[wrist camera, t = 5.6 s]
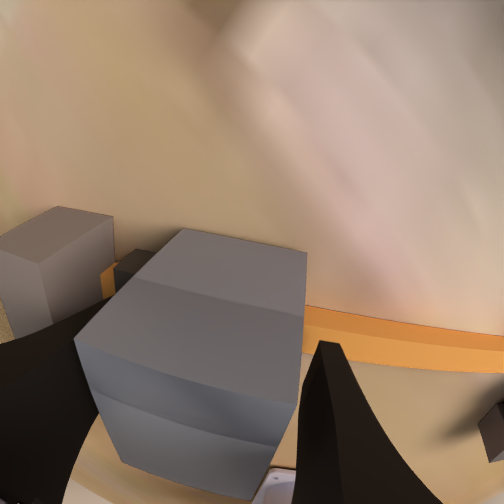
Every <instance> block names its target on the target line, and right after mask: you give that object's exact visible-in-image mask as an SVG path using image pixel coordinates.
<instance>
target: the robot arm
mask: <svg viewBox="0 0 504 504" xmlns="http://www.w3.org/2000/svg"><path fill="white" fill-rule="evenodd" d="M113 296H114V295H112V296H110V297H108V298H106V299H104V300H102V301H100V302H98V303H96V304H94V305H92V306H90V307H88V308H86V309H84V310H82V311H80V312H78V313H76V314H74V315H72V316H70V317H68V318H66V319H64V320H61V321H59V322H57V323H55V324H52V325H50V326H48V327H46V328H43V329H41V330H39V331H37V332H34V333H32V334H29V335H26V336H24V337H21V338H18V339H15V340H12V341H9V342H6V343H2V344H0V504H18V503H19V504H62V501H63V497H64V493H65V490H66V486H67V483H68V481H69V478H70V475H71V472H72V469H73V466H74V464H75V461H76V459H77V457H78V454H79V452H80V449H81V447H82V445H83V443H84V440H85V438H86V436H87V434H88V432H89V430H90V428H91V426H92V424H93V422H94V421H95V419H96V417H97V416H98V414H99V411H98V408H97V406H96V403H95V401H94V398H93V396H92V393H91V390H90V388H89V385H88V382H87V379H86V376H85V373H84V370H83V367H82V364H81V361H80V358H79V355H78V352H77V348H76V345H75V342H74V338H75V336H76V335H77V334H78V333H79V332H80V331H81V330H82V329H83V328H84V327H85V326H86V325H87V323H88V322H89V321H90V320H91V319H92V318H93V317H94V316H95V315H96V314H97V313H98V312H99V311H100V310H101V309H102V308H103V307H104V306H105V305H106V303H107V302H108V301H109V300H110V299H111V298H112V297H113ZM251 504H443V503H442V502H441V501H440V500H439V499H438V498H437V497H436V496H435V495H434V494H433V493H432V492H431V491H430V490H429V489H428V488H427V487H426V486H425V485H424V483H423V482H422V481H421V480H420V479H419V478H418V477H417V475H416V474H415V473H414V472H413V471H412V470H411V468H410V467H409V466H408V465H407V463H406V462H405V461H404V459H403V458H402V457H401V455H400V454H399V453H398V451H397V450H396V448H395V447H394V445H393V444H392V443H391V441H390V440H389V438H388V436H387V435H386V433H385V432H384V430H383V428H382V427H381V425H380V423H379V422H378V420H377V418H376V416H375V415H374V413H373V411H372V409H371V407H370V406H369V404H368V402H367V400H366V398H365V396H364V394H363V392H362V390H361V388H360V386H359V384H358V382H357V380H356V378H355V376H354V374H353V371H352V369H351V367H350V365H349V363H348V360H347V358H346V356H345V354H344V351H343V349H342V347H341V345H340V343H335V342H329V341H323V340H319V343H318V345H317V348H316V351H315V354H314V356H313V359H312V362H311V364H310V367H309V370H308V372H307V375H306V377H305V380H304V382H303V386H302V393H301V399H300V406H299V413H298V438H297V460H296V471H295V470H287V469H280V468H272V469H270V470H269V472H268V474H267V476H266V477H265V479H264V481H263V483H262V485H261V487H260V489H259V490H258V492H257V494H256V496H255V498H254V499H253V501H252V503H251Z"/></svg>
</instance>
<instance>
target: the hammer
mask: <svg viewBox="0 0 504 504" xmlns="http://www.w3.org/2000/svg"><path fill="white" fill-rule="evenodd" d="M156 254H157V253H152V252H148V251H144V250H139V249H135V250H134V251H132V252H131V253H130V254H129V255H128V256H127V257H125V258H124V259H123V260H122V261H121V262H120V263H117V262H115V251H114V234H113V216H107V215H102V214H97V213H91V212H86V211H81V210H75V209H70V208H65V207H59V206H57V207H55V208H53V209H51V210H49V211H47V212H45V213H43V214H41V215H39V216H37V217H35V218H33V219H31V220H29V221H27V222H25V223H23V224H21V225H20V226H18V227H16V228H14V229H12V230H10V231H9V232H7V233H5V234H3V235H1V236H0V297H1V300H2V303H3V306H4V309H5V312H6V315H7V318H8V321H9V323H10V326H11V329H12V331H13V334H14V336H15V339H18V338H21V337H24V336H26V335H29V334H32V333H34V332H37V331H39V330H41V329H43V328H46V327H48V326H50V325H52V324H55V323H57V322H59V321H61V320H64V319H66V318H68V317H70V316H72V315H74V314H76V313H78V312H80V311H82V310H84V309H86V308H88V307H90V306H92V305H94V304H96V303H98V302H100V301H102V300H104V299H106V298H108V297H110V296H112V295H115V294H116V293H117V292H118V291H119V290H120V289H121V288H122V287H123V286H124V285H125V284H126V283H127V282H128V281H129V280H130V279H131V278H132V277H133V276H134V275H135V274H136V273H137V272H138V271H139V270H140V269H141V268H142V267H143V266H144V265H145V264H146V263H147V262H148V261H149V260H150V259H151V258H152V257H154V256H155V255H156ZM319 340H323V341H329V342H335V343H340V345H341V347H342V349H343V351H344V354H345V356H346V358H347V360H352V361H359V362H366V363H374V364H382V365H390V366H399V367H408V368H419V369H430V370H444V371H459V372H482V373H504V337H503V336H494V335H486V334H478V333H470V332H462V331H455V330H448V329H441V328H434V327H427V326H420V325H414V324H408V323H401V322H395V321H389V320H383V319H377V318H371V317H365V316H360V315H354V314H348V313H343V312H337V311H332V310H327V309H321V308H316V307H311V306H306V305H305V311H304V327H303V342H302V352H303V353H308V354H315V351H316V348H317V345H318V343H319Z"/></svg>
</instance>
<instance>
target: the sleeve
mask: <svg viewBox="0 0 504 504" xmlns="http://www.w3.org/2000/svg"><path fill="white" fill-rule="evenodd" d="M306 271H307V253H306V252H301V251H296V250H291V249H286V248H281V247H276V246H271V245H266V244H261V243H256V242H251V241H246V240H241V239H236V238H231V237H226V236H221V235H216V234H210V233H205V232H200V231H195V230H190V229H185V228H183V229H182V230H181V231H180V232H179V233H178V234H177V235H176V236H175V237H173V238H172V239H171V240H170V241H169V242H168V243H167V244H166V245H165V246H164V247H163V248H162V249H161V250H160V251H159V252H158V253H157V254H156V255H155V256H154V257H152V258H151V259H150V260H149V261H148V262H147V263H146V264H145V265H144V266H143V267H142V268H141V269H140V270H139V271H138V272H137V273H136V274H135V275H134V276H133V277H132V278H131V279H130V280H129V281H128V282H127V283H126V284H125V285H124V286H123V287H122V288H121V289H120V290H119V291H118V292H117V293H116V294H115V295H114V296H113V297H112V298H111V299H110V300H109V301H108V302H107V303H106V305H105V306H104V307H103V308H102V309H101V310H100V311H99V312H98V313H97V314H96V315H95V316H94V317H93V318H92V319H91V320H90V321H89V322H88V323H87V325H86V326H85V327H84V328H83V329H82V330H81V331H80V332H79V333H78V334H77V335H76V336H75V338H74V342H75V345H76V348H77V352H78V355H79V358H80V361H81V364H82V367H83V370H84V373H85V376H86V379H87V382H88V385H89V388H90V390H91V393H92V396H93V398H94V401H95V403H96V406H97V408H98V411H99V413H100V416H101V418H102V420H103V423H104V425H105V427H106V429H107V432H108V434H109V436H110V438H111V440H112V443H113V445H114V447H115V449H116V451H117V453H118V455H119V457H120V459H121V461H122V462H123V463H126V464H128V465H130V466H133V467H135V468H138V469H140V470H143V471H145V472H148V473H151V474H153V475H156V476H159V477H162V478H165V479H168V480H171V481H174V482H177V483H180V484H183V485H186V486H190V487H193V488H197V489H200V490H204V491H208V492H212V493H216V494H220V495H224V496H229V497H233V498H238V499H243V500H248V501H251V499H252V497H253V496H254V494H255V492H256V490H257V488H258V486H259V484H260V482H261V480H262V478H263V476H264V474H265V473H266V471H267V469H268V467H269V465H270V462H271V460H272V458H273V456H274V454H275V452H276V450H277V448H278V446H279V444H280V442H281V439H282V437H283V435H284V433H285V431H286V429H287V426H288V424H289V422H290V420H291V417H292V415H293V413H294V411H295V408H296V406H297V400H298V390H299V379H300V367H301V355H302V342H303V327H304V311H305V293H306Z"/></svg>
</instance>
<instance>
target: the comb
mask: <svg viewBox="0 0 504 504" xmlns="http://www.w3.org/2000/svg"><path fill="white" fill-rule="evenodd" d="M478 427H479V430H480V433H481V436H482V439H483V443H484V446H485V450H486V453H487V457H488V460H489V463H491V462H496V461H500V460H504V403H496V405H495V406H494V407H493V408H492V409H491V410H490V412H489V413H488V414H487V415H486V416H485V417H484V418H483V419H482V420H481V422H480V423H479V424H478Z"/></svg>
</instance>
